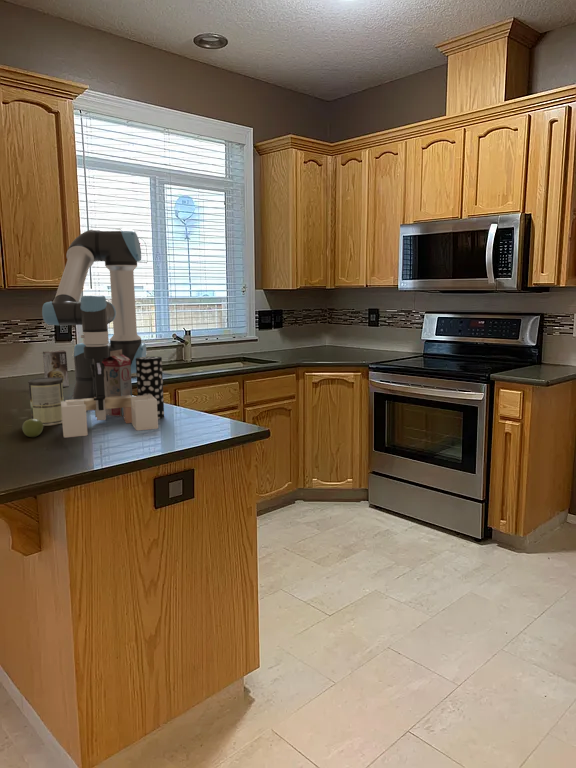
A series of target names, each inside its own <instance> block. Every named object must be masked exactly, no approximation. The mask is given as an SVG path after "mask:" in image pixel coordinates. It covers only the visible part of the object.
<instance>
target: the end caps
mask: <svg viewBox="0 0 576 768" xmlns="http://www.w3.org/2000/svg"><path fill="white" fill-rule="evenodd" d="M61 412H62V423H61V424H62V435H63V438H77V437H85V436H88V420H87V419H88V418H87V411H86V405H85V404H84V400H75V401H66V400H64V401H62V402H61ZM131 413H132V423H131V425H132V426H133V428H134V430H135V431H146V430H157V429H159V419H158V413H157V399H156V398H155V397H153V396H152V395H142V396H138V395H134V396H133V395H132V396H131Z"/></svg>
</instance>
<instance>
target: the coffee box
mask: <svg viewBox="0 0 576 768" xmlns="http://www.w3.org/2000/svg"><path fill="white" fill-rule="evenodd" d="M42 357H43V358H42V359H43V369H44V371H43V372H44V378H47V377H58V378H63V381H62V382H63V388H65V387H69V386H70V383H69V372H68V359H67V357H68V356H67V351H65V350H64V349H63V350H61V349H60V350H49V351H48V350H47V351H42Z"/></svg>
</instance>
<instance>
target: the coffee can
mask: <svg viewBox="0 0 576 768" xmlns="http://www.w3.org/2000/svg"><path fill="white" fill-rule="evenodd" d="M62 381H63V378H58V377H47V378H45V377H38V378H37V377H36V378H32V379H28V381H27V383H28V390H29V391H28V392H29V393H28V394H29V400H30V401H29V403H30V414H31V415H30V417H31V418H30V419H38V420H40V421H41V422H42V423H43V427H45V426H56V425H60V424H62V412H61V402H62V401H65V400H64V399H65V398H64V397H65V396H64V387H63V382H62Z"/></svg>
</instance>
